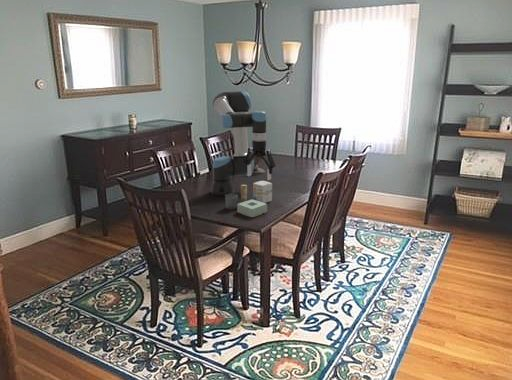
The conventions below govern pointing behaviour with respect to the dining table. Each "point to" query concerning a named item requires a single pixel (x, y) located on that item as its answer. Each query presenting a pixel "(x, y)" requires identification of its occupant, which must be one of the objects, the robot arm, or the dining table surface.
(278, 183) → the dining table surface
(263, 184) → the ink box
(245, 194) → the birch dowel
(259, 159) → the cherub figurine
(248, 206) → the socket block
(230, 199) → the dark grey block
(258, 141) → the robot arm
